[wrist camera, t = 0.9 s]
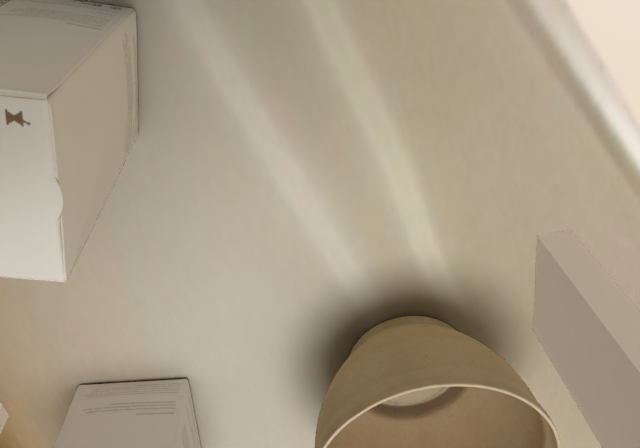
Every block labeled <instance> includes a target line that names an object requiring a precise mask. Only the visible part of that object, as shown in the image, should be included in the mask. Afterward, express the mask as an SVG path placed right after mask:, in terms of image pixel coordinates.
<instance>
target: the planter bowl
mask: <svg viewBox="0 0 640 448" xmlns="http://www.w3.org/2000/svg"><path fill="white" fill-rule="evenodd" d="M315 448H561V443H560V439H559V435H558V433H557V430H556V428H555V426H554V424H553V422H552V420H551V419H550V417H549V416H548V414H547V413H546V412H545V410H544V409H543V408H542V407H541V405H540V404H539V403H538V402H537V400H536V399H535V397H534V396H533V394H532V392H531V391H530V389H529V388H528V387H527V385H526V384H525V382H524V381H523V380H522V379H521V377H520V376H519V375H518V374H517V373H516V372H515V370H514V369H513V368H512V367H511V366H510V365H509V364H508V363H507V362H506V361H505V360H504V359H502V358H501V357H500V356H499V355H498V354H496V353H495V352H494V351H492V350H491V349H490V348H488V347H487V346H485V345H484V344H482V343H481V342H479V341H477V340H476V339H474V338H472V337H470V336H468V335H465V334H463V333H461V332H458V331H456V330H455V329H454V328H453V327H451V326H450V325H448V324H447V323H445V322H442V321H440V320H438V319H435V318H431V317H425V316H404V317H398V318H394V319H391V320H388V321H385V322H383V323H380V324H378V325H376V326H375V327H373V328H372V329H370V330H369V331H367V332H366V333H365V334H364V335H363V336H362V337H361V338H360V339H359V340H358V341H357V343H356V344H355V345H354V347H353V349H352V351H351V353H350V356H349V357H348V359H347V360H346V361H345V362H344V363H343V365H342V366H341V368H340V369H339V370H338V372H337V374H336V375H335V377H334V379H333V381H332V382H331V384H330V386H329V389H328V391H327V393H326V395H325V398H324V401H323V403H322V407H321V410H320V413H319V418H318V423H317V429H316V437H315Z"/></svg>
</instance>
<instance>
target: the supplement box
mask: <svg viewBox="0 0 640 448" xmlns="http://www.w3.org/2000/svg"><path fill="white" fill-rule="evenodd" d="M53 448H201V444H200V439H199V434H198V428H197V423H196V418H195V413H194V407H193V402H192V397H191V392H190V387H189V382H188V379H177V380H160V381H142V382H125V383H109V384H92V385H79V386H78V388H77V390H76V393H75V395H74V398H73V400H72V403H71V405H70V408H69V410H68V412H67V415H66V417H65V420H64V422H63V424H62V427H61V429H60V432H59V434H58V436H57V439H56V441H55V444H54V446H53Z"/></svg>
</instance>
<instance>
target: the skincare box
mask: <svg viewBox="0 0 640 448" xmlns="http://www.w3.org/2000/svg"><path fill="white" fill-rule="evenodd" d="M137 137H138V75H137V26H136V11H135V10H134V9H132V8H127V7H120V6H113V5H106V4H99V3H92V2H84V1H76V0H11V1H9V2H7V3H5V4H3V5H1V6H0V277H5V278H18V279H30V280H43V281H55V282H66V281H67V279H68V278H69V276H70V274H71V271H72V269H73V267H74V265H75V263H76V261H77V259H78V257H79V255H80V253H81V251H82V249H83V247H84V245H85V243H86V241H87V239H88V237H89V235H90V233H91V231H92V229H93V226H94V224H95V222H96V220H97V218H98V216H99V214H100V212H101V210H102V208H103V206H104V204H105V202H106V200H107V198H108V196H109V194H110V192H111V190H112V188H113V186H114V184H115V182H116V179H117V177H118V175H119V173H120V171H121V169H122V167H123V165H124V163H125V161H126V159H127V157H128V155H129V153H130V151H131V149H132V147H133V145H134V143H135V141H136V139H137Z"/></svg>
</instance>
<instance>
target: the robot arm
mask: <svg viewBox="0 0 640 448" xmlns="http://www.w3.org/2000/svg"><path fill="white" fill-rule="evenodd" d="M532 329H533V331H534V332H535V334H536V336H537V338H538V339H539V341H540V343H541V344H542V346H543V348H544V350H545V351H546V353H547V355H548V356H549V358H550V360H551V361H552V363H553V365H554V367H555V368H556V370H557V372H558V373H559V375H560V377H561V379H562V380H563V382H564V384H565V385H566V387H567V389H568V391H569V392H570V394H571V396H572V397H573V399H574V401H575V402H576V404H577V406H578V408H579V409H580V411H581V413H582V414H583V416H584V418H585V420H586V421H587V423H588V425H589V426H590V428H591V430H592V431H593V433H594V435H595V437H596V438H597V440H598V442H599V443H600V445H601V447H602V448H640V310H639V309H638V308H637V306H636V305H635V304H634V303H633V302H632V301H631V299H630V298H629V297H628V296H627V295H626V294H625V292H624V291H623V290H622V289H621V288H620V287H619V285H618V284H617V283H616V282H615V281H614V280H613V278H612V277H611V276H610V275H609V274H608V272H607V271H606V270H605V269H604V268H603V267H602V265H601V264H600V263H599V262H598V261H597V260H596V258H595V257H594V256H593V255H592V254H591V253H590V251H589V250H588V249H587V248H586V247H585V246H584V244H583V243H582V242H581V241H580V240H579V239H578V237H577V236H576V235H575V234H574V233H573V231H572V230H567V231H561V232H555V233H549V234H543V235H537V248H536V268H535V288H534V308H533V328H532ZM7 418H8V414H7V412H6V411H5V409H4V407H3V406H2V404H1V402H0V433H1V431H2V429H3V427H4V425H5V423H6V421H7Z"/></svg>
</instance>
